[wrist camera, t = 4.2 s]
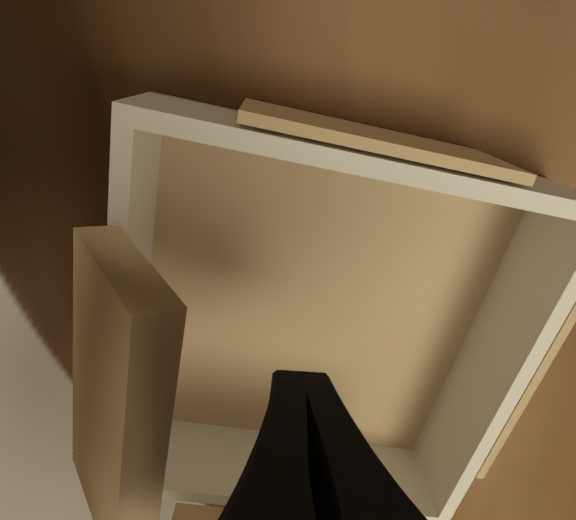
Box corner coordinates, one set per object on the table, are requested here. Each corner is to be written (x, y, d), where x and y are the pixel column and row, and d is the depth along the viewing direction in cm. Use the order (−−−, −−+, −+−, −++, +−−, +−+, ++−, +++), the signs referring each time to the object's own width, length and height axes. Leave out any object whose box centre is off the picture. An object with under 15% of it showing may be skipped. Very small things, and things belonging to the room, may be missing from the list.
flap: (187, 307, 8) (132, 317, 7) (153, 557, 11) (113, 579, 10) (118, 225, 10) (73, 227, 10) (107, 445, 13) (72, 458, 13)
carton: (563, 168, 14) (649, 200, 11) (425, 452, 20) (455, 528, 16) (152, 76, 12) (112, 82, 9) (127, 415, 18) (97, 492, 15)
